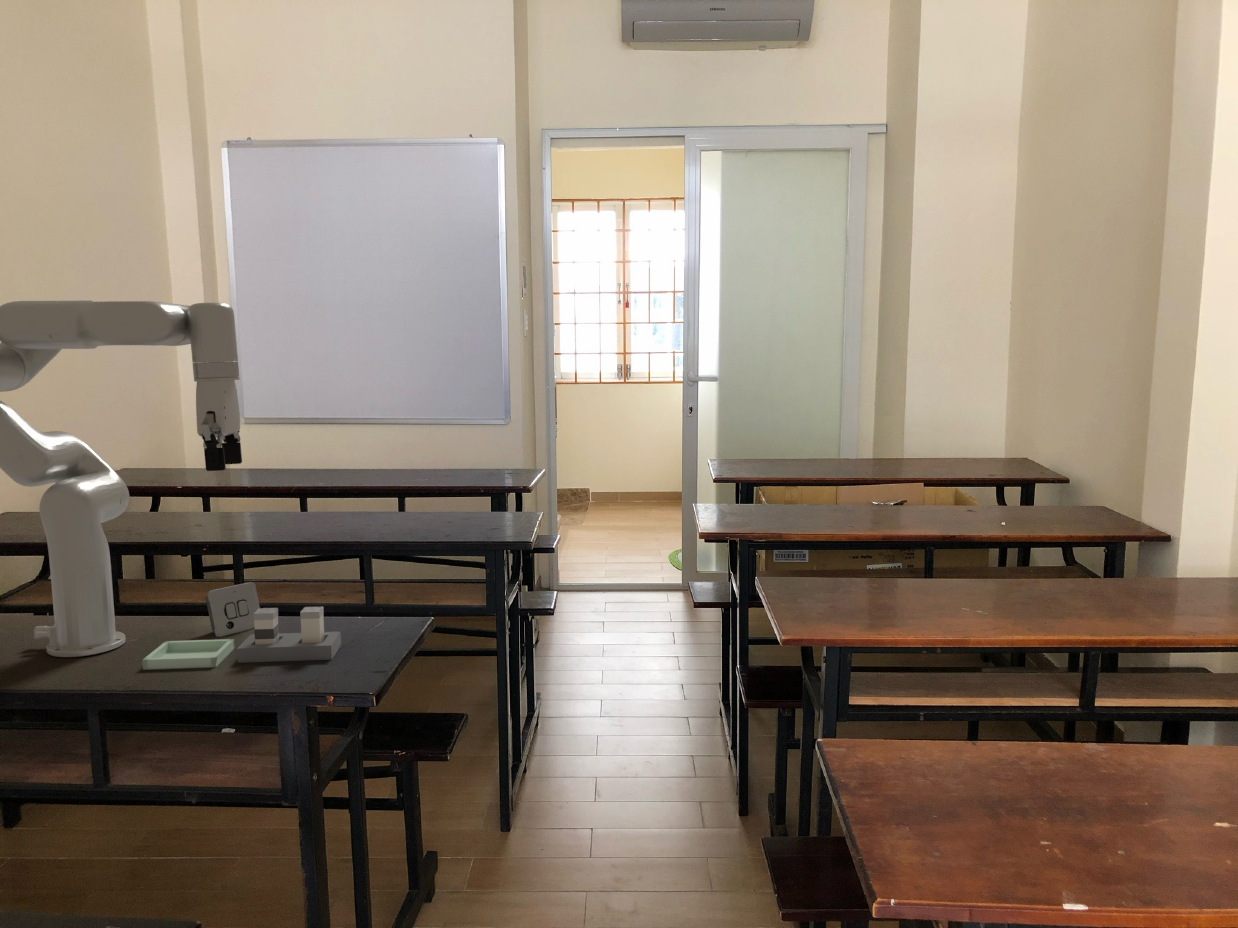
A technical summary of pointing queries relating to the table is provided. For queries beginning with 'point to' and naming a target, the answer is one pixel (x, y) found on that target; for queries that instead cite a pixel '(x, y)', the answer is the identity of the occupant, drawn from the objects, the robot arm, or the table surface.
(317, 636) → the block
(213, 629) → the electrical switch
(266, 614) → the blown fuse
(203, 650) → the parts tray
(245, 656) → the block
